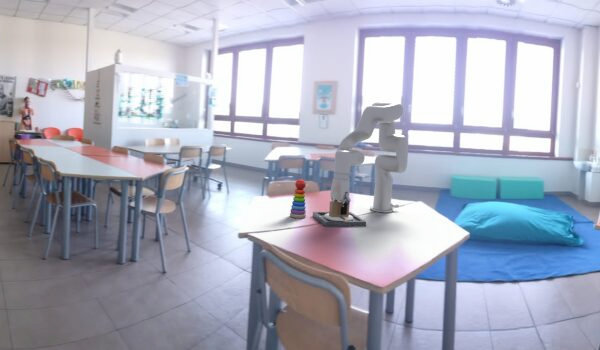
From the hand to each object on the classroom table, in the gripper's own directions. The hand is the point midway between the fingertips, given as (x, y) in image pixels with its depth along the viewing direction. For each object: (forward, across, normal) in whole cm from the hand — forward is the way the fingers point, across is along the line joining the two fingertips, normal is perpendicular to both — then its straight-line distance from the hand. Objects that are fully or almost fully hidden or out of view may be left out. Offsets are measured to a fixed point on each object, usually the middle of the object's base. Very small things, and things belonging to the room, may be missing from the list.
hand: (339, 212), depth 190 cm
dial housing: (+4, 0, 0) cm, 4 cm away
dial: (+3, 0, 0) cm, 3 cm away
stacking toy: (+4, -12, -16) cm, 21 cm away
